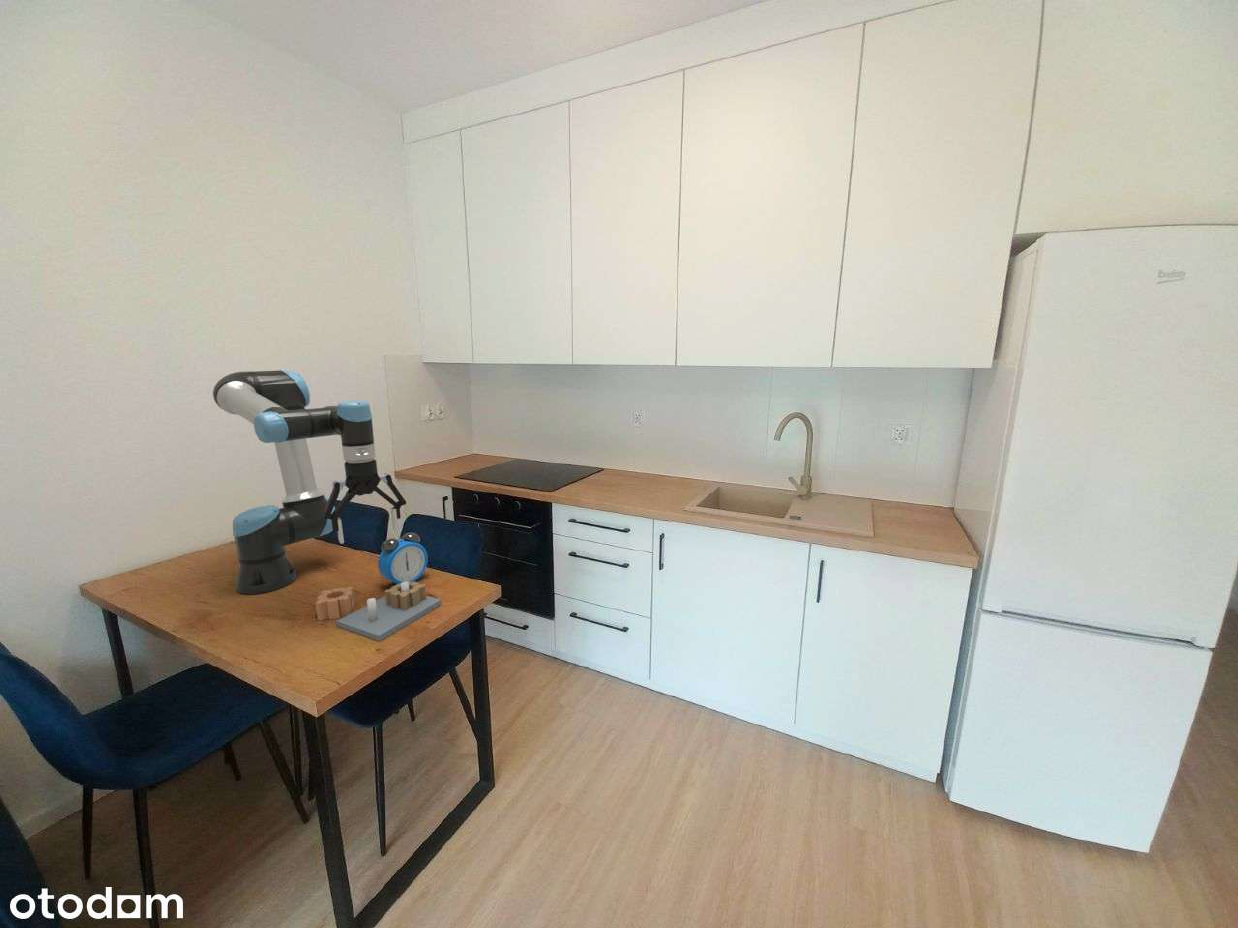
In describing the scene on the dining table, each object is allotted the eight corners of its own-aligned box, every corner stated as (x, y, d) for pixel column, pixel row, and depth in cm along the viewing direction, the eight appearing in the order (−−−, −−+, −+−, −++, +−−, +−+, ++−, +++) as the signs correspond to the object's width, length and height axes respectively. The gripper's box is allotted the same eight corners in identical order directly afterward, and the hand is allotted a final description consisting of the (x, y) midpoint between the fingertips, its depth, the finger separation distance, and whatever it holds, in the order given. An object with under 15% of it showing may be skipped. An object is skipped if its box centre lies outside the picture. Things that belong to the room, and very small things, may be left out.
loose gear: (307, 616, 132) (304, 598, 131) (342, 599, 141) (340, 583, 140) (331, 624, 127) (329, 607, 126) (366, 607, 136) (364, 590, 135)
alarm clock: (390, 592, 145) (385, 544, 141) (379, 586, 148) (374, 540, 145) (430, 576, 155) (425, 531, 152) (419, 571, 159) (414, 527, 155)
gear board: (337, 626, 127) (333, 601, 125) (400, 593, 144) (398, 571, 143) (379, 641, 120) (376, 615, 118) (441, 604, 137) (439, 581, 136)
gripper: (307, 469, 119) (319, 551, 123) (413, 456, 134) (420, 529, 139) (302, 464, 124) (314, 542, 129) (405, 452, 140) (412, 522, 144)
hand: (369, 536), depth 134 cm, fingers open, 13 cm apart
